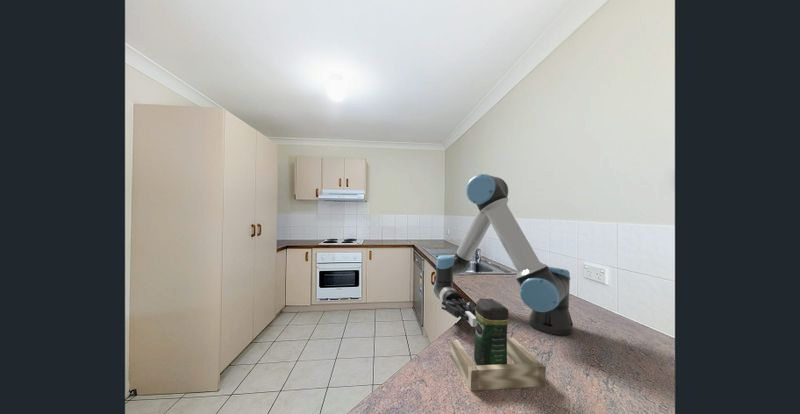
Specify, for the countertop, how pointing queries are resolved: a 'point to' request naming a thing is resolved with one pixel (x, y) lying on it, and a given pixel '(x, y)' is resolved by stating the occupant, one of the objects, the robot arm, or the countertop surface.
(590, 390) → the countertop surface
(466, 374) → the u-shaped wooden molding
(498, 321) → the coffee jar
